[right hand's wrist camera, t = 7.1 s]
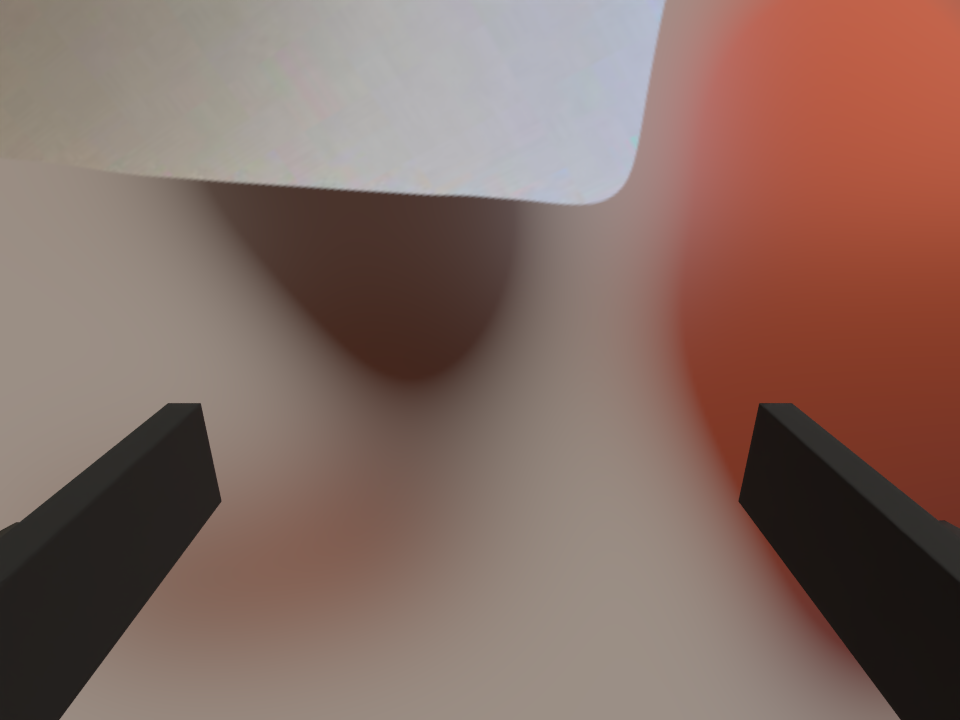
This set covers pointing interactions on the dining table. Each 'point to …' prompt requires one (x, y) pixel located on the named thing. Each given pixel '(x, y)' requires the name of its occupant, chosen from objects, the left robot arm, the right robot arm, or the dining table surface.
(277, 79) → the dining table surface
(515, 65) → the dining table surface
